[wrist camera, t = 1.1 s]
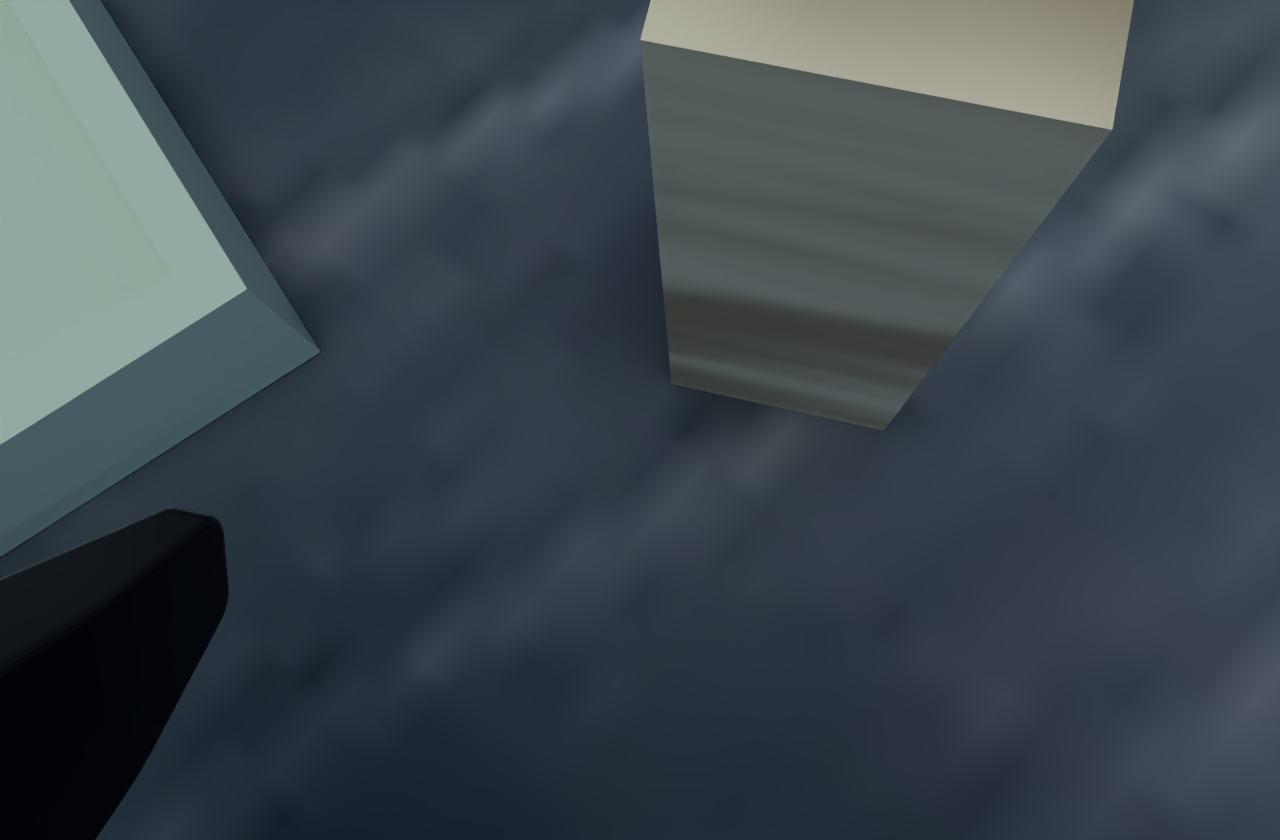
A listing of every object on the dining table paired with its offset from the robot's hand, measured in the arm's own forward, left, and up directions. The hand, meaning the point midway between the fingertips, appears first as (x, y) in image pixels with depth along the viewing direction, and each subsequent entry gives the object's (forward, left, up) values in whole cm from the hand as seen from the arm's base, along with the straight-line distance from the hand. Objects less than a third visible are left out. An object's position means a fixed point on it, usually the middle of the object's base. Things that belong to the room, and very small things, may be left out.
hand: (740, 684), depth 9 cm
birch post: (+6, +5, -13) cm, 16 cm away
